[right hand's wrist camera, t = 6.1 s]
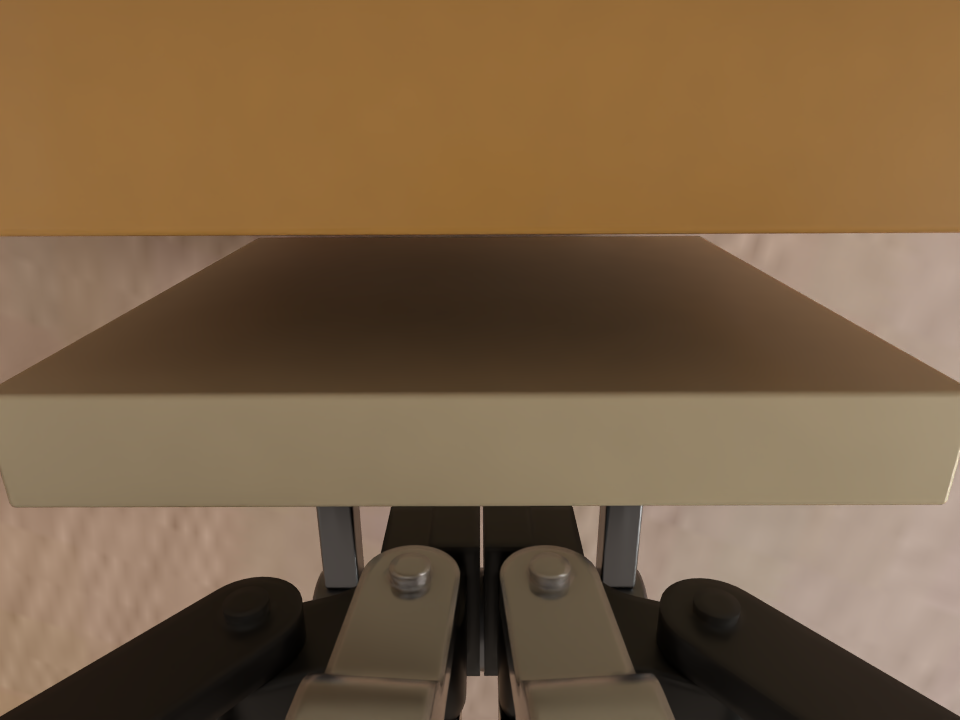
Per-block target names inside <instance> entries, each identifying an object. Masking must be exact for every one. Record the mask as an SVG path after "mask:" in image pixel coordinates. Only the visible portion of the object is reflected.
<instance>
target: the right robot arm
mask: <svg viewBox="0 0 960 720" xmlns="http://www.w3.org/2000/svg"><path fill="white" fill-rule="evenodd" d="M483 571H484V676H498V720H960V716H958V715H956V714H954V713H953V712H951V711H949V710H948V709H946V708H944V707H942V706H941V705H939V704H937V703H936V702H934V701H932V700H930V699H929V698H927V697H925V696H924V695H922V694H920V693H918V692H917V691H915V690H913V689H912V688H910V687H908V686H906V685H905V684H903V683H901V682H900V681H898V680H896V679H895V678H893V677H891V676H889V675H888V674H886V673H884V672H883V671H881V670H879V669H877V668H876V667H874V666H872V665H871V664H869V663H867V662H865V661H864V660H862V659H860V658H859V657H857V656H855V655H853V654H852V653H850V652H848V651H847V650H845V649H843V648H841V647H840V646H838V645H836V644H835V643H833V642H831V641H829V640H828V639H826V638H824V637H823V636H821V635H819V634H817V633H816V632H814V631H812V630H811V629H809V628H807V627H806V626H804V625H802V624H800V623H799V622H797V621H795V620H794V619H792V618H790V617H788V616H787V615H785V614H783V613H782V612H780V611H778V610H776V609H775V608H773V607H771V606H770V605H768V604H766V603H764V602H763V601H761V600H759V599H758V598H756V597H754V596H752V595H751V594H749V593H747V592H746V591H744V590H742V589H740V588H738V587H736V586H733V585H731V584H728V583H725V582H722V581H718V580H712V579H704V578H694V579H686V580H682V581H679V582H676V583H674V584H672V585H671V586H669V587H668V588H667V589H666V590H665V591H664V593H663V594H662V597H661V599H660V602H659V601H654V600H650V599H646V598H641V597H637V596H633V595H629V594H626V593H623V592H621V591H618V590H616V589H614V588H612V587H610V586H608V585H607V584H605V583H604V582H602V581H601V579H600V576H599V574H598V571H597V570H596V568H595V566H594V565H593V564H592V563H591V562H590V561H589V560H588V559H587V558H586V557H584V553H583V549H582V545H581V541H580V536H579V532H578V528H577V524H576V519H575V515H574V511H573V507H572V506H483ZM467 676H480V506H392V507H391V510H390V515H389V519H388V524H387V528H386V533H385V537H384V541H383V546H382V550H381V554H379V555H377V556H376V557H374V558H373V559H372V560H371V561H370V562H369V563H368V564H367V565H366V566H365V568H364V570H363V571H362V574H361V576H360V579H359V582H358V584H357V586H355V587H353V588H351V589H349V590H347V591H345V592H342V593H340V594H336V595H333V596H329V597H325V598H320V599H316V600H312V601H307V602H303V603H302V597H301V594H300V592H299V591H298V589H297V588H296V587H295V586H294V585H292V584H291V583H289V582H287V581H285V580H282V579H279V578H273V577H253V578H248V579H243V580H239V581H236V582H233V583H231V584H228V585H226V586H224V587H222V588H220V589H218V590H216V591H214V592H213V593H211V594H209V595H208V596H206V597H204V598H202V599H201V600H199V601H197V602H196V603H194V604H192V605H190V606H189V607H187V608H185V609H184V610H182V611H180V612H178V613H177V614H175V615H173V616H172V617H170V618H168V619H166V620H165V621H163V622H161V623H160V624H158V625H156V626H155V627H153V628H151V629H149V630H148V631H146V632H144V633H143V634H141V635H139V636H137V637H136V638H134V639H132V640H131V641H129V642H127V643H125V644H124V645H122V646H120V647H119V648H117V649H115V650H113V651H112V652H110V653H108V654H107V655H105V656H103V657H101V658H100V659H98V660H96V661H95V662H93V663H91V664H89V665H88V666H86V667H84V668H83V669H81V670H79V671H77V672H76V673H74V674H72V675H71V676H69V677H67V678H66V679H64V680H62V681H60V682H59V683H57V684H55V685H54V686H52V687H50V688H48V689H47V690H45V691H43V692H42V693H40V694H38V695H36V696H35V697H33V698H31V699H30V700H28V701H26V702H24V703H23V704H21V705H19V706H18V707H16V708H14V709H12V710H11V711H9V712H7V713H6V714H4V715H2V716H0V720H462V709H463V707H464V704H465V700H466V679H467Z"/></svg>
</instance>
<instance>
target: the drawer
mask: <svg viewBox="0 0 960 720" xmlns="http://www.w3.org/2000/svg"><path fill="white" fill-rule="evenodd" d="M959 458H960V383H959V382H957V381H955V380H954V379H952V378H950V377H948V376H946V375H945V374H943V373H941V372H939V371H938V370H936V369H934V368H932V367H930V366H929V365H927V364H925V363H923V362H922V361H920V360H918V359H916V358H915V357H913V356H911V355H909V354H907V353H906V352H904V351H902V350H900V349H899V348H897V347H895V346H893V345H892V344H890V343H888V342H886V341H884V340H883V339H881V338H879V337H877V336H876V335H874V334H872V333H870V332H868V331H867V330H865V329H863V328H861V327H860V326H858V325H856V324H854V323H853V322H851V321H849V320H847V319H845V318H844V317H842V316H840V315H838V314H837V313H835V312H833V311H831V310H829V309H828V308H826V307H824V306H822V305H821V304H819V303H817V302H815V301H814V300H812V299H810V298H808V297H806V296H805V295H803V294H801V293H799V292H798V291H796V290H794V289H792V288H791V287H789V286H787V285H785V284H783V283H782V282H780V281H778V280H776V279H775V278H773V277H771V276H769V275H767V274H766V273H764V272H762V271H760V270H759V269H757V268H755V267H753V266H752V265H750V264H748V263H746V262H744V261H743V260H741V259H739V258H737V257H736V256H734V255H732V254H730V253H729V252H727V251H725V250H723V249H721V248H720V247H718V246H716V245H714V244H713V243H711V242H709V241H707V240H705V239H704V238H702V237H700V236H630V237H377V238H258V239H256V240H254V241H252V242H251V243H249V244H247V245H245V246H244V247H242V248H240V249H238V250H237V251H235V252H233V253H231V254H229V255H228V256H226V257H224V258H222V259H221V260H219V261H217V262H215V263H214V264H212V265H210V266H208V267H206V268H205V269H203V270H201V271H199V272H198V273H196V274H194V275H192V276H191V277H189V278H187V279H185V280H184V281H182V282H180V283H178V284H176V285H175V286H173V287H171V288H169V289H168V290H166V291H164V292H162V293H161V294H159V295H157V296H155V297H153V298H152V299H150V300H148V301H146V302H145V303H143V304H141V305H139V306H138V307H136V308H134V309H132V310H130V311H129V312H127V313H125V314H123V315H122V316H120V317H118V318H116V319H115V320H113V321H111V322H109V323H108V324H106V325H104V326H102V327H100V328H99V329H97V330H95V331H93V332H92V333H90V334H88V335H86V336H85V337H83V338H81V339H79V340H77V341H76V342H74V343H72V344H70V345H69V346H67V347H65V348H63V349H62V350H60V351H58V352H56V353H54V354H53V355H51V356H49V357H47V358H46V359H44V360H42V361H40V362H39V363H37V364H35V365H33V366H32V367H30V368H28V369H26V370H24V371H23V372H21V373H19V374H17V375H16V376H14V377H12V378H10V379H9V380H7V381H5V382H3V383H1V384H0V472H1V475H2V479H3V482H4V486H5V489H6V492H7V496H8V499H9V503H10V504H11V505H12V506H13V507H316V508H317V518H318V527H319V537H320V546H321V556H322V565H323V571H322V573H321V574H320V576H319V579H318V581H317V584H316V587H315V591H314V595H313V600H316V599H320V598H325V597H329V596H333V595H336V594H340V593H342V592H345V591H347V590H349V589H351V588H353V587H355V586H357V584H358V582H359V579H360V576H361V574H362V571H363V570H364V560H363V548H362V535H361V522H360V510H359V506H600V515H599V529H598V543H597V558H596V567H595V568H596V570H597V571H598V574H599V576H600V579H601V581H602V582H604V583H605V584H607V585H608V586H610V587H612V588H614V589H616V590H618V591H621V592H623V593H626V594H629V595H633V596H637V597H641V598H646V599H647V594H646V590H645V586H644V583H643V580H642V577H641V575H640V573H639V571H638V570H637V562H638V551H639V541H640V531H641V520H642V510H643V506H645V505H942V504H945V503H946V502H947V500H948V496H949V493H950V489H951V486H952V482H953V479H954V475H955V472H956V468H957V465H958V461H959ZM480 671H484V571H483V568H480Z"/></svg>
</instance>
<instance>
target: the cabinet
mask: <svg viewBox="0 0 960 720" xmlns="http://www.w3.org/2000/svg"><path fill="white" fill-rule="evenodd" d="M737 233H960V0H0V236H231V235H484V234H737Z"/></svg>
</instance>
